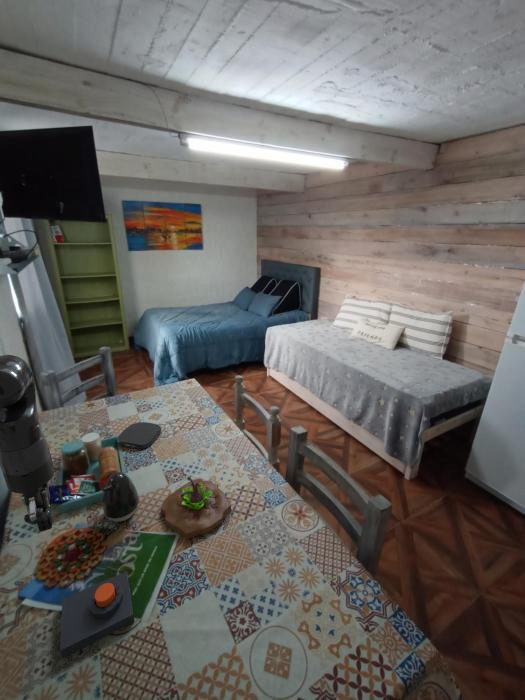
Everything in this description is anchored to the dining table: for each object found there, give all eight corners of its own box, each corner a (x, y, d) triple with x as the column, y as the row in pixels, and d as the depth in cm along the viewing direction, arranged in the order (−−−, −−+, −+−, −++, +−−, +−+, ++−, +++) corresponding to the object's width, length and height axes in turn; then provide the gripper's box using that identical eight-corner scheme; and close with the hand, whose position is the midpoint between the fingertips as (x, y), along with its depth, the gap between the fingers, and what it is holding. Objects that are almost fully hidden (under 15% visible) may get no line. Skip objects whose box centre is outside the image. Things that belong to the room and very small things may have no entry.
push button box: (62, 658, 65) (58, 645, 63) (64, 606, 74) (60, 593, 72) (134, 622, 71) (132, 609, 70) (128, 577, 80) (126, 565, 79)
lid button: (96, 611, 70) (95, 605, 69) (95, 593, 73) (94, 587, 72) (116, 601, 71) (114, 595, 71) (114, 585, 75) (113, 579, 74)
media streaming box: (164, 429, 140) (163, 424, 139) (147, 450, 127) (146, 444, 126) (134, 425, 142) (133, 420, 141) (114, 446, 129) (113, 439, 128)
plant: (188, 550, 88) (186, 520, 84) (152, 510, 100) (148, 482, 96) (241, 508, 101) (240, 480, 98) (203, 477, 114) (202, 451, 110)
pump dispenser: (96, 521, 95) (88, 482, 90) (122, 496, 105) (115, 459, 99) (123, 532, 92) (116, 492, 87) (147, 505, 101) (142, 467, 96)
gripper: (8, 445, 63) (28, 511, 69) (-7, 490, 52) (19, 563, 58) (52, 435, 66) (68, 498, 72) (47, 475, 56) (66, 546, 62)
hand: (46, 527), depth 65 cm, fingers closed
